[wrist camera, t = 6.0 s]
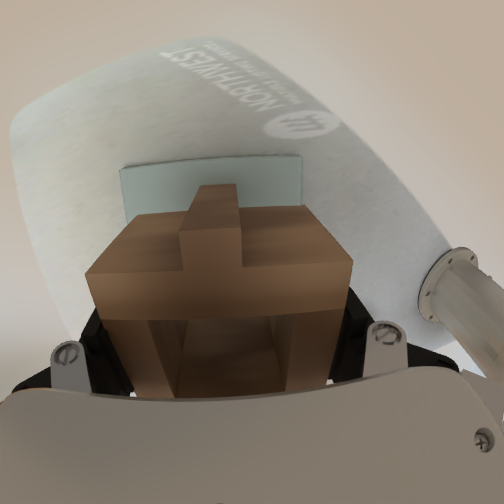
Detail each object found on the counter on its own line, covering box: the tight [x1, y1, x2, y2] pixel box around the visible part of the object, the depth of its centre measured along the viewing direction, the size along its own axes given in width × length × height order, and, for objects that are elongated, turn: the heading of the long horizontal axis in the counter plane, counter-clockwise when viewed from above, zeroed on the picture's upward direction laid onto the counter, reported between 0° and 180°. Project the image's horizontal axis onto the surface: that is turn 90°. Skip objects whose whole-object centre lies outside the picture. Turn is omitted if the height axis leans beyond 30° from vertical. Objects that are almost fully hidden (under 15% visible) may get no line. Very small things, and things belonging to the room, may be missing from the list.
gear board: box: [119, 155, 302, 224], centre depth 24 cm, size 16×18×8 cm
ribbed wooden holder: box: [85, 183, 353, 398], centre depth 10 cm, size 7×9×5 cm
